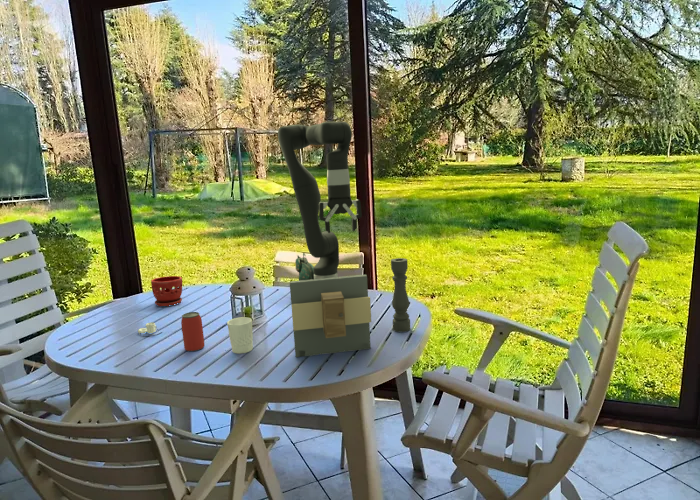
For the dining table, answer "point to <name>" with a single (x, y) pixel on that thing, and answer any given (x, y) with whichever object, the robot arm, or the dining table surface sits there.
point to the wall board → (311, 319)
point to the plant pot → (167, 290)
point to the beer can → (192, 331)
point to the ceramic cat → (304, 268)
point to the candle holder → (400, 295)
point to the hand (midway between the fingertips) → (341, 231)
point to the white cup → (241, 334)
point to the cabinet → (333, 314)
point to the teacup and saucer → (148, 328)
